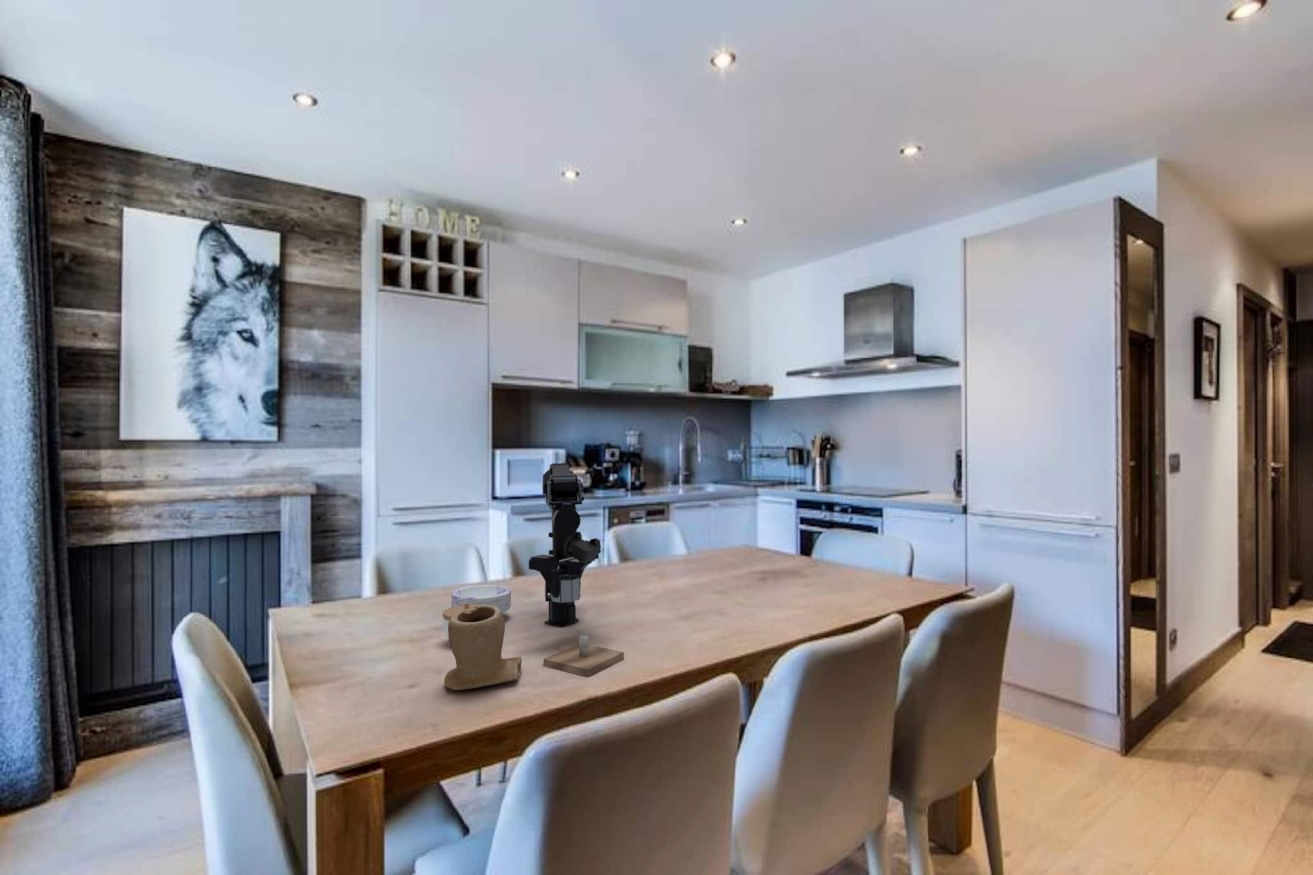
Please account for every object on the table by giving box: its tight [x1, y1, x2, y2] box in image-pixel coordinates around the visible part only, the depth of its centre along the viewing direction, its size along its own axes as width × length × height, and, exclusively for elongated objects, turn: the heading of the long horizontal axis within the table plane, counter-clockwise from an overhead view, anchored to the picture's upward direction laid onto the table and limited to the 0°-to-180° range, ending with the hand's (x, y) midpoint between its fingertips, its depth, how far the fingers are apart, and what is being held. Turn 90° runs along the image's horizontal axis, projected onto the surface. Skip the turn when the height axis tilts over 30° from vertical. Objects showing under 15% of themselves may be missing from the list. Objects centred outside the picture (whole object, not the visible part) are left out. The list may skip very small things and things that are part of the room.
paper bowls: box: [450, 584, 512, 615], centre depth 166 cm, size 15×15×8 cm
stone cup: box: [443, 605, 523, 691], centre depth 122 cm, size 15×12×15 cm
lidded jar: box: [442, 603, 477, 640], centre depth 147 cm, size 11×11×9 cm
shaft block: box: [543, 634, 625, 678], centre depth 133 cm, size 12×12×6 cm
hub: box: [551, 575, 581, 603], centre depth 147 cm, size 6×6×5 cm
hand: (565, 594), depth 147 cm, fingers closed on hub, 6 cm apart
